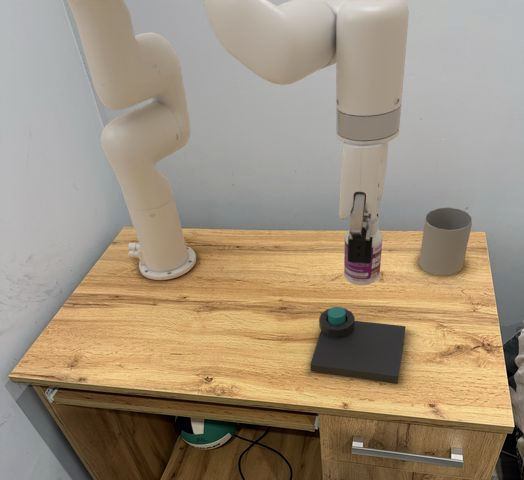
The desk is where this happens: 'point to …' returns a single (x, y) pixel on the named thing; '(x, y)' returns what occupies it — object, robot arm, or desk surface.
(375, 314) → the desk surface
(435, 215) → the cup
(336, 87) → the robot arm
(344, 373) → the scale
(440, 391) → the desk surface
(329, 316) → the button
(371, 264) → the pill bottle
